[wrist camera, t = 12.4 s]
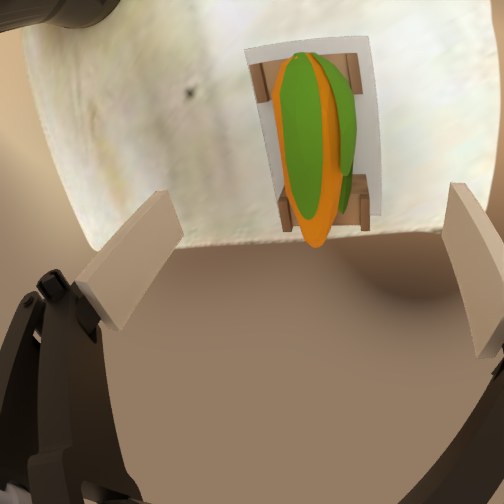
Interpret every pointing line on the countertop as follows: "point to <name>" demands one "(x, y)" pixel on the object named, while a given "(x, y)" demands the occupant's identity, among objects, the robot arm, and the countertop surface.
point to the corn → (315, 140)
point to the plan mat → (365, 107)
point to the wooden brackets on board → (359, 195)
